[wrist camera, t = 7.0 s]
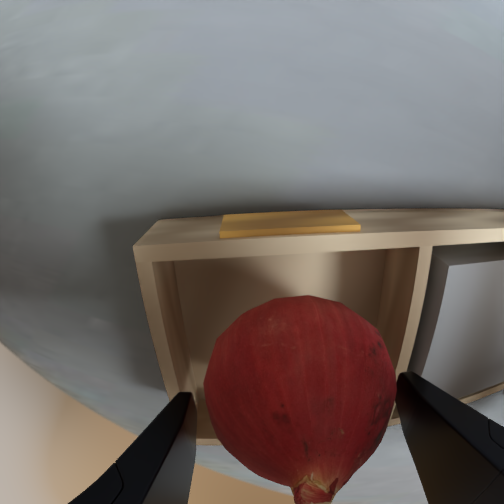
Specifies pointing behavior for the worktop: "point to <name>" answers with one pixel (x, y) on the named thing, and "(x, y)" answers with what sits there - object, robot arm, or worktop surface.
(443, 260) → the wooden compartment tray
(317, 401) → the red rounded piece
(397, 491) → the worktop surface
